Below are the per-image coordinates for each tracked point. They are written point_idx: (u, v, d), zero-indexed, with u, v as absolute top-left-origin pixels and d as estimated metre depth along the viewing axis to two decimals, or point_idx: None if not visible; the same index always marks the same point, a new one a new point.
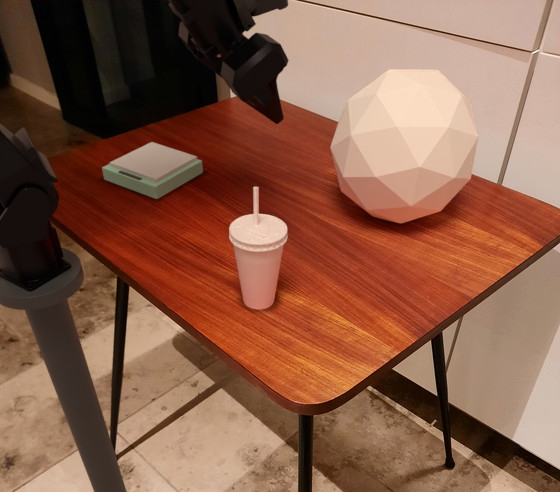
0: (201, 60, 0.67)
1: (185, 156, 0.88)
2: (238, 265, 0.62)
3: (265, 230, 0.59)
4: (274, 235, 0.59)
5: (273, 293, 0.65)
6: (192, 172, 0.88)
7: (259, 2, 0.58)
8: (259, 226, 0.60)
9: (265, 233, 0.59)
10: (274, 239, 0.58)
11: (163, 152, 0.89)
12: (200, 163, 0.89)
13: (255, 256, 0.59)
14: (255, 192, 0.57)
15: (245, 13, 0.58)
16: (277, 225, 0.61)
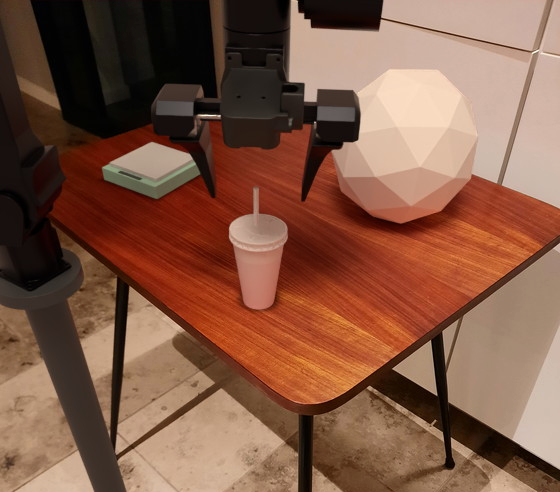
0: None
1: (185, 156, 0.88)
2: (238, 265, 0.62)
3: (265, 230, 0.59)
4: (274, 235, 0.59)
5: (273, 293, 0.65)
6: (192, 172, 0.88)
7: None
8: (259, 226, 0.60)
9: (265, 233, 0.59)
10: (274, 239, 0.58)
11: (163, 152, 0.89)
12: None
13: (255, 256, 0.59)
14: (256, 192, 0.57)
15: (221, 93, 0.48)
16: (277, 225, 0.61)
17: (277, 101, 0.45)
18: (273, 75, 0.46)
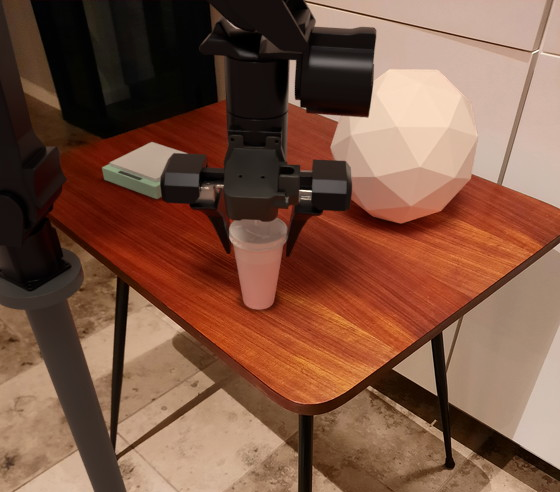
0: None
1: None
2: (238, 265, 0.62)
3: (265, 230, 0.59)
4: (274, 235, 0.59)
5: (273, 293, 0.65)
6: None
7: None
8: (259, 226, 0.60)
9: (265, 233, 0.59)
10: (274, 239, 0.58)
11: (163, 152, 0.89)
12: None
13: (255, 256, 0.59)
14: None
15: (224, 168, 0.53)
16: (277, 225, 0.61)
17: (275, 181, 0.49)
18: (272, 155, 0.50)
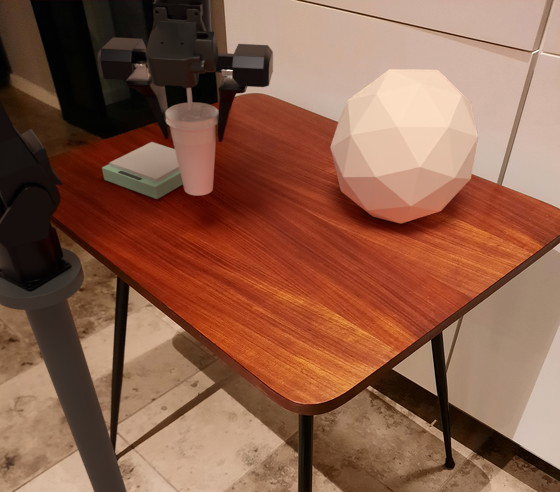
0: None
1: None
2: (175, 148, 0.68)
3: (197, 112, 0.65)
4: (205, 117, 0.65)
5: (210, 179, 0.71)
6: None
7: None
8: (193, 110, 0.66)
9: (197, 114, 0.65)
10: (204, 119, 0.64)
11: (163, 152, 0.89)
12: None
13: (188, 136, 0.65)
14: None
15: None
16: (210, 110, 0.66)
17: (192, 46, 0.55)
18: (192, 26, 0.56)
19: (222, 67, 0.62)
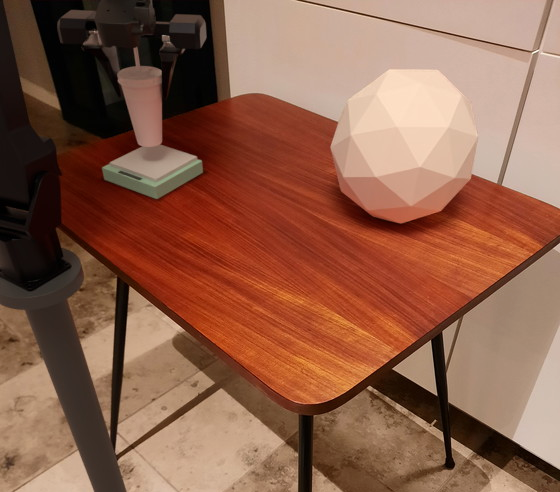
0: None
1: (185, 156, 0.88)
2: (127, 105, 0.80)
3: (144, 73, 0.78)
4: (150, 77, 0.77)
5: (158, 133, 0.83)
6: (192, 172, 0.88)
7: None
8: (140, 71, 0.78)
9: (143, 74, 0.77)
10: None
11: (163, 152, 0.89)
12: (200, 163, 0.89)
13: (136, 93, 0.77)
14: None
15: None
16: (155, 72, 0.79)
17: (133, 13, 0.67)
18: None
19: (162, 33, 0.74)
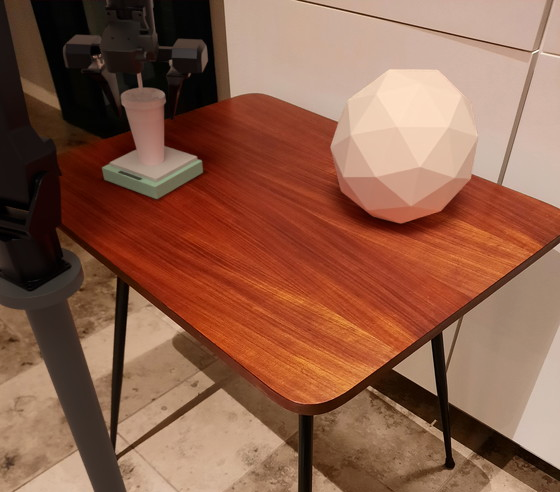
0: None
1: (185, 156, 0.88)
2: (130, 125, 0.82)
3: (147, 95, 0.80)
4: (153, 99, 0.79)
5: (160, 152, 0.85)
6: (192, 172, 0.88)
7: None
8: (143, 93, 0.80)
9: (146, 97, 0.79)
10: (152, 100, 0.79)
11: None
12: (200, 163, 0.89)
13: (139, 114, 0.80)
14: None
15: None
16: (157, 93, 0.81)
17: (137, 41, 0.69)
18: (137, 25, 0.71)
19: (165, 58, 0.76)
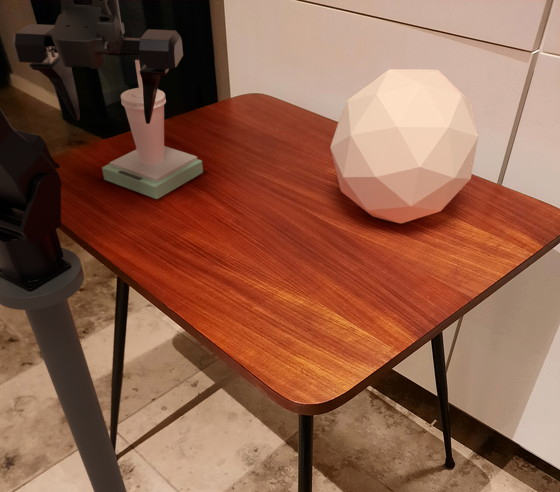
0: None
1: (185, 156, 0.88)
2: (130, 125, 0.82)
3: None
4: None
5: (160, 152, 0.85)
6: (192, 172, 0.88)
7: None
8: None
9: None
10: None
11: None
12: (200, 163, 0.89)
13: (139, 114, 0.80)
14: (137, 64, 0.78)
15: None
16: (158, 93, 0.81)
17: (96, 29, 0.59)
18: (97, 11, 0.60)
19: (132, 51, 0.66)
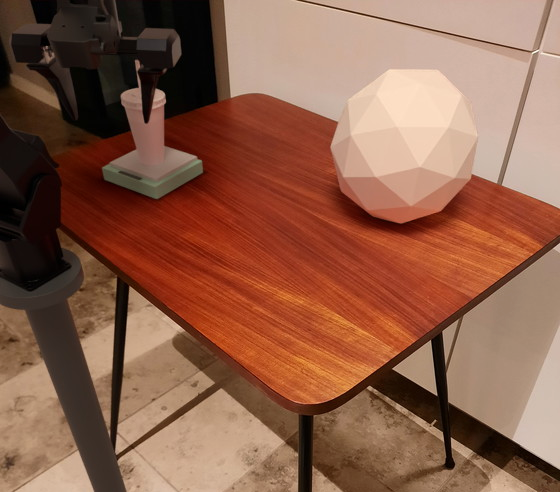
0: None
1: (185, 156, 0.88)
2: (130, 125, 0.82)
3: None
4: None
5: (160, 152, 0.85)
6: (192, 172, 0.88)
7: None
8: None
9: None
10: None
11: None
12: (200, 163, 0.89)
13: (139, 114, 0.80)
14: (137, 64, 0.78)
15: None
16: (158, 93, 0.81)
17: (92, 29, 0.58)
18: (93, 11, 0.59)
19: (130, 50, 0.65)
